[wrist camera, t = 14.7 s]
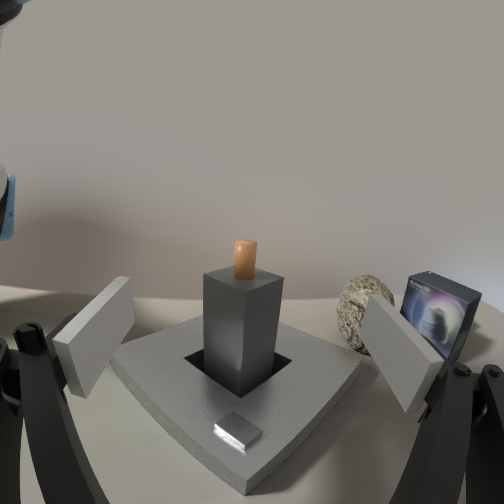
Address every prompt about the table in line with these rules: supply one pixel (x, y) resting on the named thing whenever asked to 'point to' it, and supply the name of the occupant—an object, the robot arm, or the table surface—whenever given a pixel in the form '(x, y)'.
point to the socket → (236, 398)
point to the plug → (240, 322)
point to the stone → (358, 307)
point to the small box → (440, 310)
